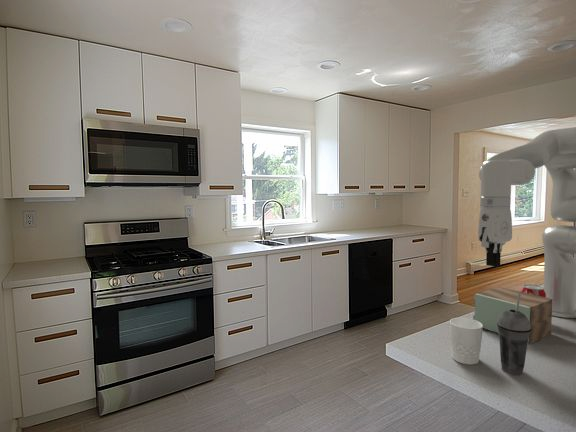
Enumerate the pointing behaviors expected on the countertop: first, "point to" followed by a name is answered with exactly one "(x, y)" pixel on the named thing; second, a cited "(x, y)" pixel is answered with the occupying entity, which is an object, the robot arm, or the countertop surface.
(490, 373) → the countertop surface
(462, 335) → the white cup
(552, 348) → the countertop surface
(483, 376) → the countertop surface
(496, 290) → the wooden storage crate
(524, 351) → the beverage cup
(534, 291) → the soda can
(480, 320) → the door
